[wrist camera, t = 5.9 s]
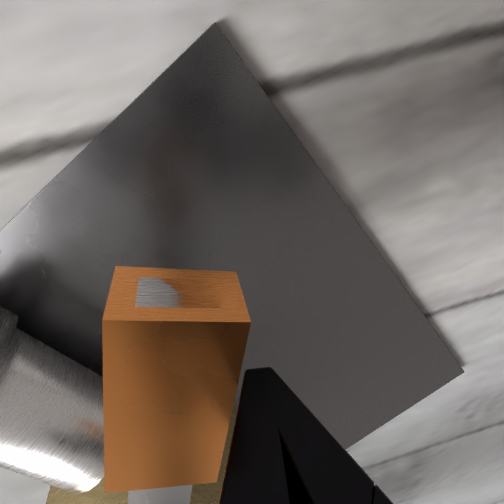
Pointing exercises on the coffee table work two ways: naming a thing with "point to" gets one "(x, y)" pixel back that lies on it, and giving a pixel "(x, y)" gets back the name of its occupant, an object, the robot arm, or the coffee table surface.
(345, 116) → the coffee table surface
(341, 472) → the robot arm
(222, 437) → the valve lever
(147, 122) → the pipe on metal plate
